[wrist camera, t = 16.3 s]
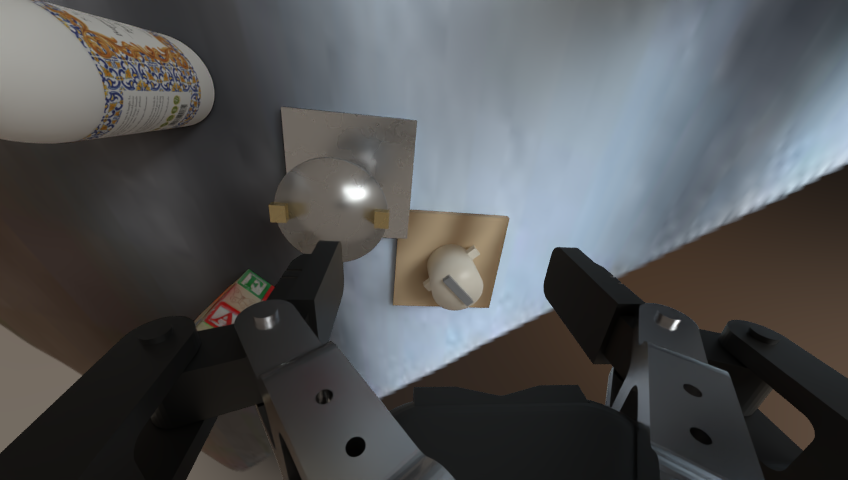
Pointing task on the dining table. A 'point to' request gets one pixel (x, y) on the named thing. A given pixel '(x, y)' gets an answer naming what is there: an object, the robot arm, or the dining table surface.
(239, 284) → the stack of blocks
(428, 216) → the coaster
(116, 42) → the bath foam
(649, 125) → the dining table surface
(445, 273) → the cap
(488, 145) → the dining table surface
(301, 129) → the knob on square base
